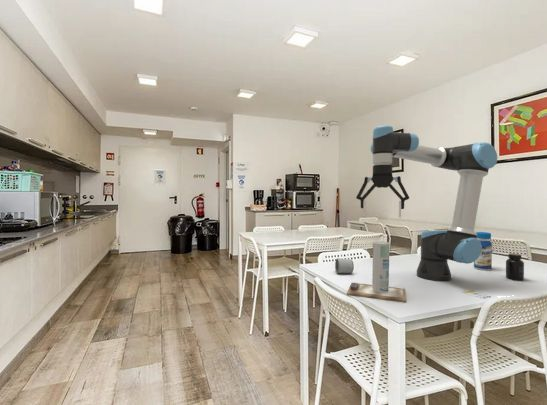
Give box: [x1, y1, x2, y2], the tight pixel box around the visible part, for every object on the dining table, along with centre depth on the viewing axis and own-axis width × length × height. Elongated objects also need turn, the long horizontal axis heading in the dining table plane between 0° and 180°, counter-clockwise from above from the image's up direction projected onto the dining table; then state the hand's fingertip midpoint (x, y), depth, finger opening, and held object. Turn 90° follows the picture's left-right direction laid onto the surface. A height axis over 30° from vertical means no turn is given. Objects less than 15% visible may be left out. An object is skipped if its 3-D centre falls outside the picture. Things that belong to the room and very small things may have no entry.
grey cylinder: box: [334, 257, 355, 274], centre depth 154 cm, size 11×8×8 cm
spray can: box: [371, 240, 391, 293], centre depth 121 cm, size 6×6×20 cm
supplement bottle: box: [505, 253, 525, 282], centre depth 143 cm, size 7×7×12 cm
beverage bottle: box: [473, 231, 494, 271], centre depth 162 cm, size 8×8×20 cm
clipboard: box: [346, 282, 407, 303], centre depth 122 cm, size 22×15×2 cm
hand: (381, 216), depth 121 cm, fingers open, 13 cm apart
